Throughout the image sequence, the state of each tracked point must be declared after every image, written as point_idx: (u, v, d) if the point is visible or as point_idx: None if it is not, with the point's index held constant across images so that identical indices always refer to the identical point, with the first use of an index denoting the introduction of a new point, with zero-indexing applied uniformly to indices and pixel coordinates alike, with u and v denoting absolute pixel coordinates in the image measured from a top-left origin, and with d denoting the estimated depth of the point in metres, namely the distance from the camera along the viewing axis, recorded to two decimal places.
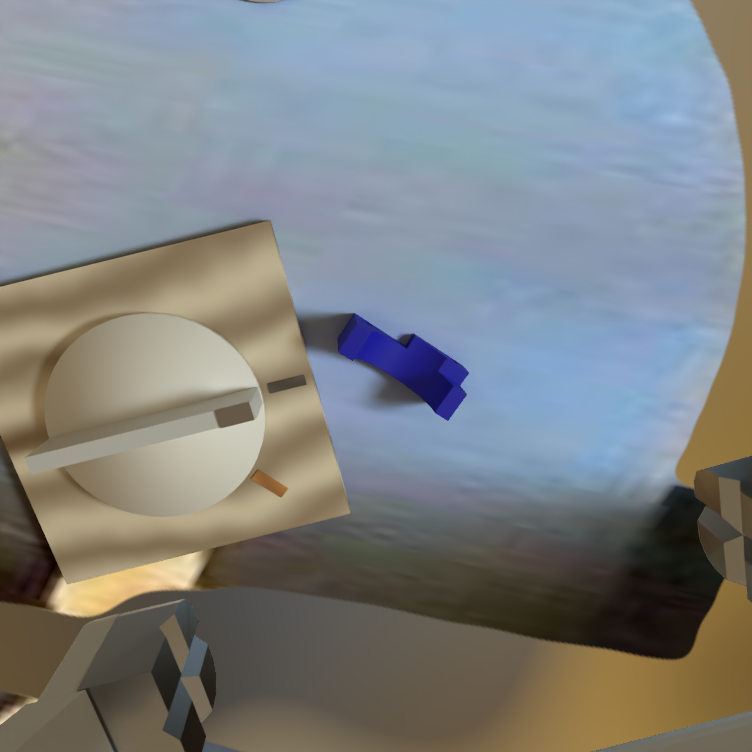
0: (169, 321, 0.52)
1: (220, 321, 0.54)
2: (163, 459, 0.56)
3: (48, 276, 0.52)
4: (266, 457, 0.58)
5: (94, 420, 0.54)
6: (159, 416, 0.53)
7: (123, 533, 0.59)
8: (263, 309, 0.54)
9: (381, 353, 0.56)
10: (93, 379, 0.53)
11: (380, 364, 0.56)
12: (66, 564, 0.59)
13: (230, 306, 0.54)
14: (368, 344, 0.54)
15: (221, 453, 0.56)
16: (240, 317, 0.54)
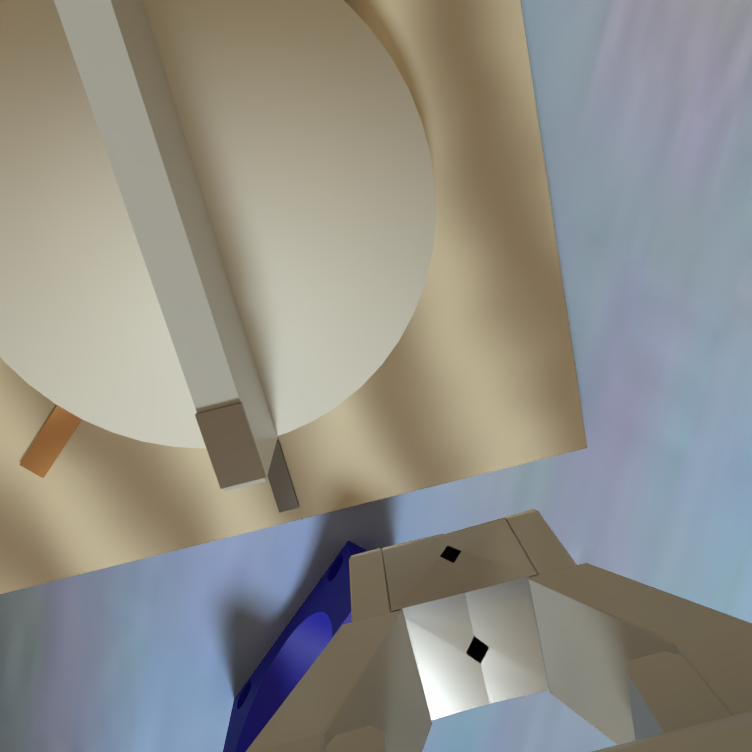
0: (420, 266, 0.24)
1: (405, 355, 0.27)
2: (88, 223, 0.23)
3: None
4: (112, 435, 0.27)
5: (179, 61, 0.22)
6: (206, 241, 0.22)
7: None
8: (427, 435, 0.28)
9: (328, 630, 0.30)
10: (284, 72, 0.22)
11: (306, 626, 0.31)
12: None
13: (435, 375, 0.27)
14: None
15: (117, 357, 0.25)
16: (413, 393, 0.28)
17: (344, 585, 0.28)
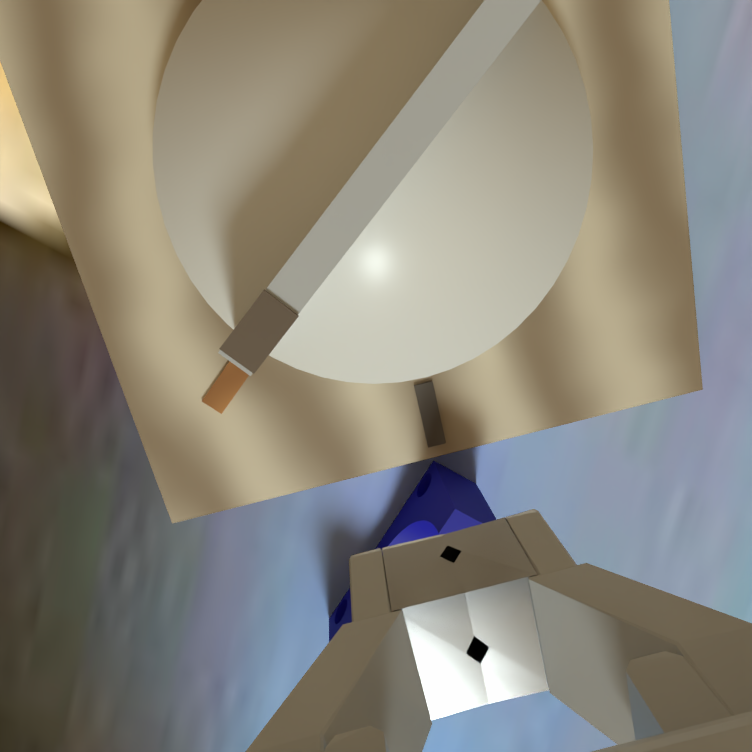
0: (461, 356, 0.29)
1: (549, 302, 0.30)
2: (318, 100, 0.26)
3: None
4: (286, 375, 0.30)
5: (479, 94, 0.26)
6: None
7: (94, 56, 0.26)
8: (563, 377, 0.31)
9: None
10: (521, 172, 0.27)
11: (400, 540, 0.33)
12: None
13: (574, 321, 0.31)
14: None
15: (231, 189, 0.26)
16: (553, 338, 0.31)
17: (440, 493, 0.31)
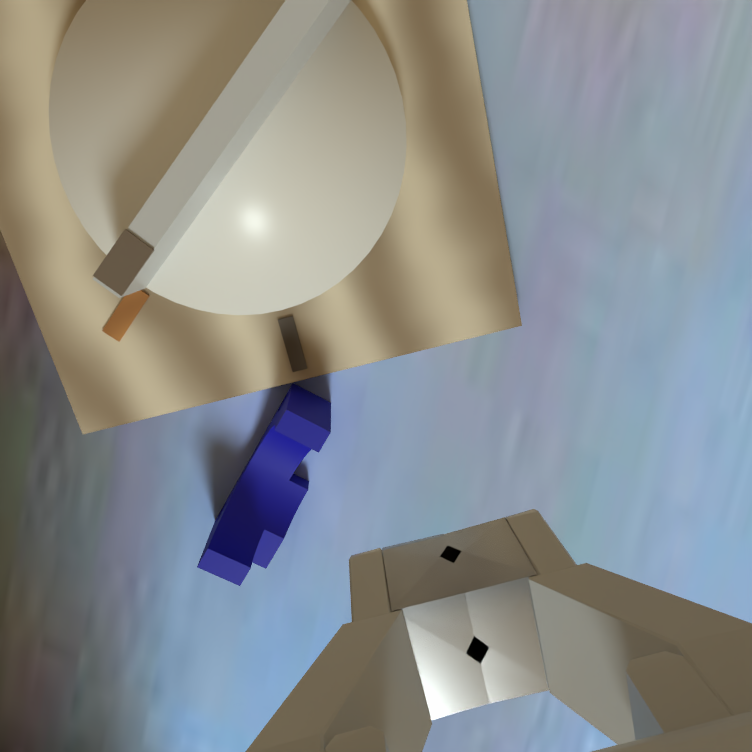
0: (309, 292, 0.36)
1: (386, 251, 0.37)
2: (179, 83, 0.32)
3: None
4: (171, 309, 0.37)
5: (309, 78, 0.33)
6: (226, 164, 0.32)
7: (3, 48, 0.33)
8: (403, 313, 0.38)
9: (280, 449, 0.40)
10: (348, 142, 0.34)
11: (264, 448, 0.40)
12: None
13: (408, 267, 0.37)
14: None
15: (113, 155, 0.33)
16: (392, 280, 0.37)
17: (285, 403, 0.37)
